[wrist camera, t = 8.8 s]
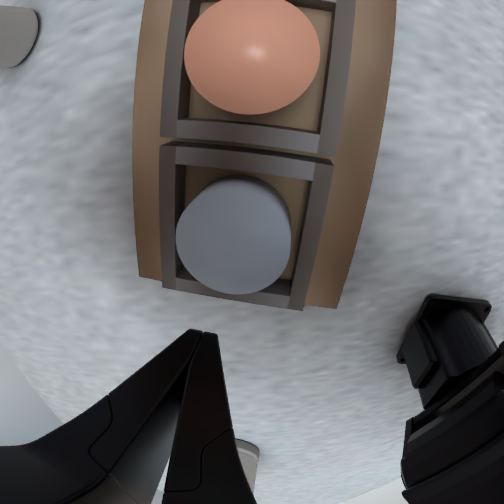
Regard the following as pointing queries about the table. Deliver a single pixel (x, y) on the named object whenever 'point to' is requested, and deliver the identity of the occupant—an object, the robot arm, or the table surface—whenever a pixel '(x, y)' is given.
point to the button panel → (264, 146)
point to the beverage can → (16, 34)
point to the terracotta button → (252, 55)
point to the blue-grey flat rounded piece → (235, 235)
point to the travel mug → (248, 460)
